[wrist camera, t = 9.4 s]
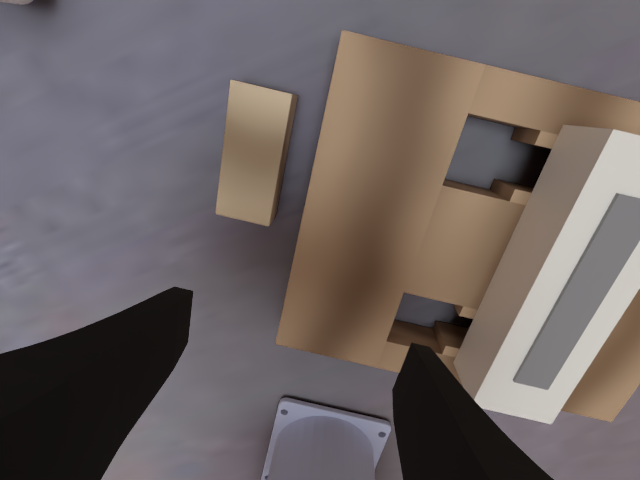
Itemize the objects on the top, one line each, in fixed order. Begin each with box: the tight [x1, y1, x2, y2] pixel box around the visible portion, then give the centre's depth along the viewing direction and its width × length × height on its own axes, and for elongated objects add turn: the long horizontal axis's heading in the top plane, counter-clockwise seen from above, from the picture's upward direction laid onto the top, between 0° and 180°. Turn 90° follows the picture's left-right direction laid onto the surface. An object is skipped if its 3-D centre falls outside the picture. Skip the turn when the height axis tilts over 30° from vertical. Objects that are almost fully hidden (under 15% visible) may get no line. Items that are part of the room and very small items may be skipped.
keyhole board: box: [275, 30, 640, 422], centre depth 18 cm, size 20×16×2 cm
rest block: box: [215, 80, 298, 226], centre depth 18 cm, size 6×3×2 cm, turn 168°
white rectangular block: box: [453, 125, 640, 424], centre depth 16 cm, size 13×4×5 cm, turn 167°
